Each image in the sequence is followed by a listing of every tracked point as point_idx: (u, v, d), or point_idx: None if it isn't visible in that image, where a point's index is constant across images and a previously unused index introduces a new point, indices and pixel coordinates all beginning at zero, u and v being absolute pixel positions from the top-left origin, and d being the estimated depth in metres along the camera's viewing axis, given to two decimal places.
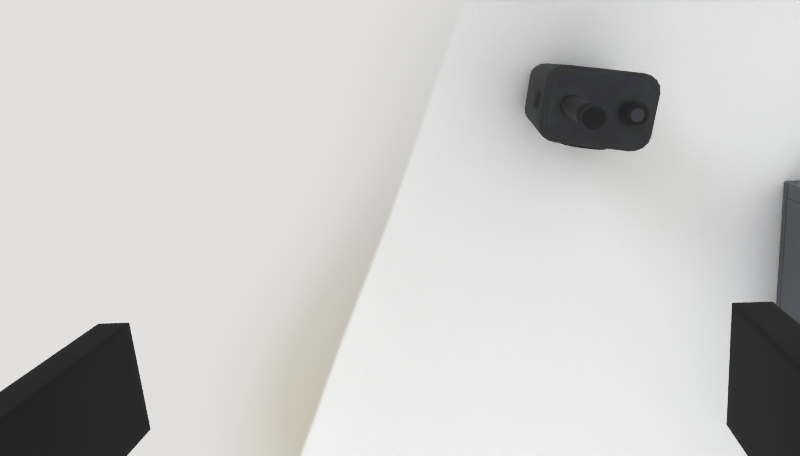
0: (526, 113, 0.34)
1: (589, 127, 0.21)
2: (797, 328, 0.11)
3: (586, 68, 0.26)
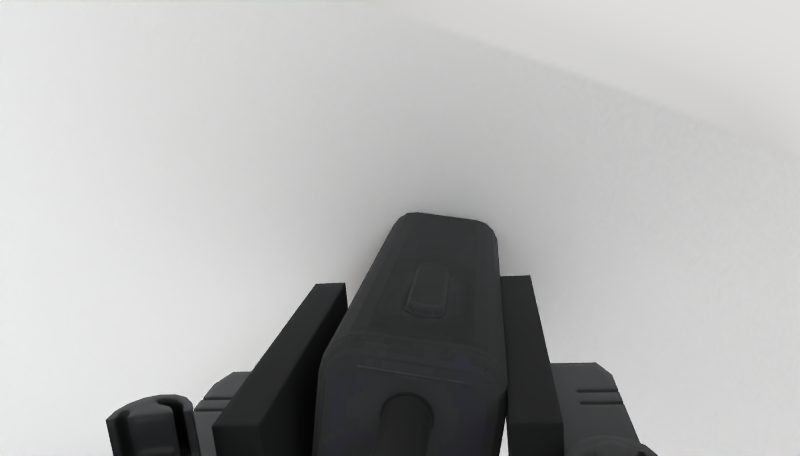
0: (406, 220, 0.18)
1: None
2: (529, 294, 0.14)
3: (498, 445, 0.10)
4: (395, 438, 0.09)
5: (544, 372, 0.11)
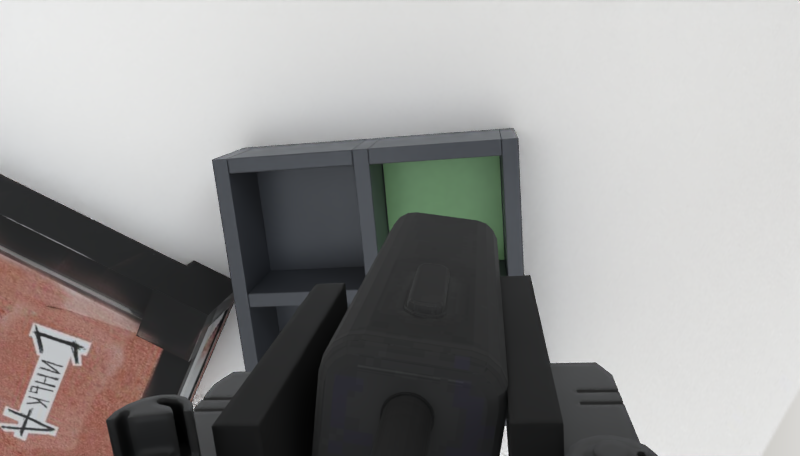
0: (406, 219, 0.18)
1: None
2: (529, 294, 0.14)
3: (498, 445, 0.10)
4: (395, 438, 0.09)
5: (544, 372, 0.11)
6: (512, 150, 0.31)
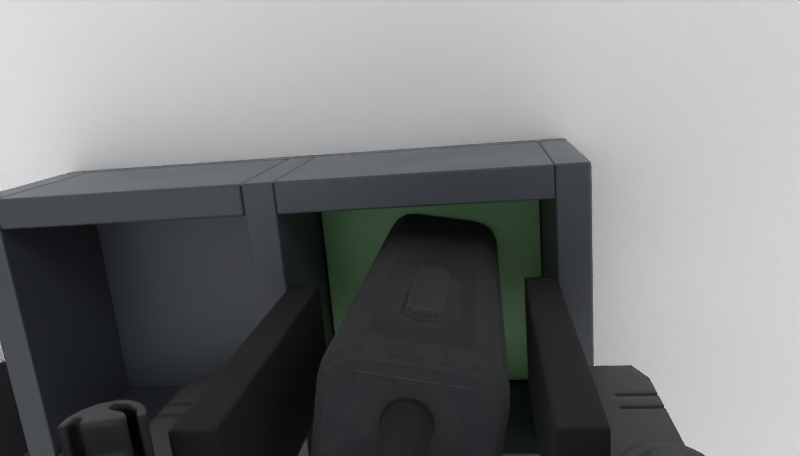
0: (404, 221, 0.18)
1: None
2: (558, 295, 0.14)
3: (500, 451, 0.10)
4: (395, 445, 0.09)
5: (584, 376, 0.10)
6: (577, 188, 0.14)
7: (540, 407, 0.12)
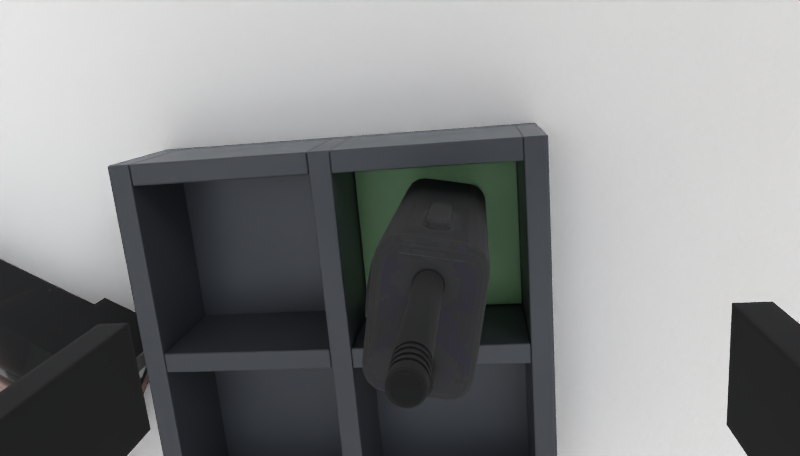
0: (418, 182, 0.24)
1: (388, 382, 0.11)
2: (797, 328, 0.11)
3: (484, 303, 0.17)
4: (423, 285, 0.16)
5: None
6: (539, 153, 0.21)
7: None
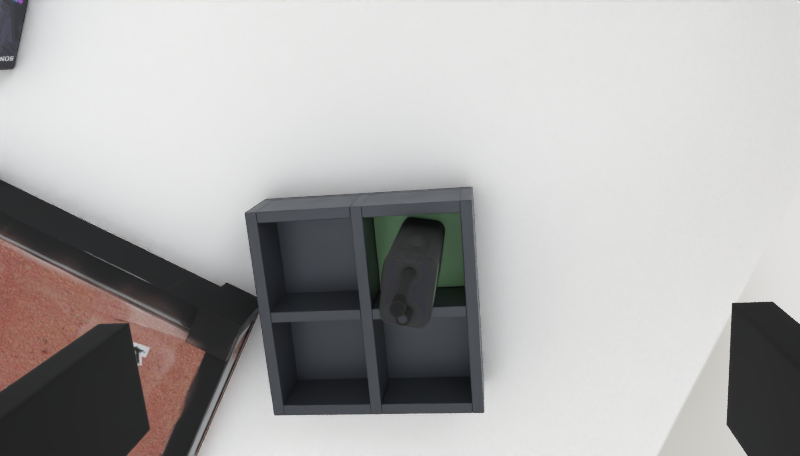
0: (408, 220, 0.45)
1: (390, 307, 0.32)
2: (797, 328, 0.11)
3: (434, 282, 0.38)
4: (406, 274, 0.36)
5: None
6: (467, 208, 0.42)
7: None
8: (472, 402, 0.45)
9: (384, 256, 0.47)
